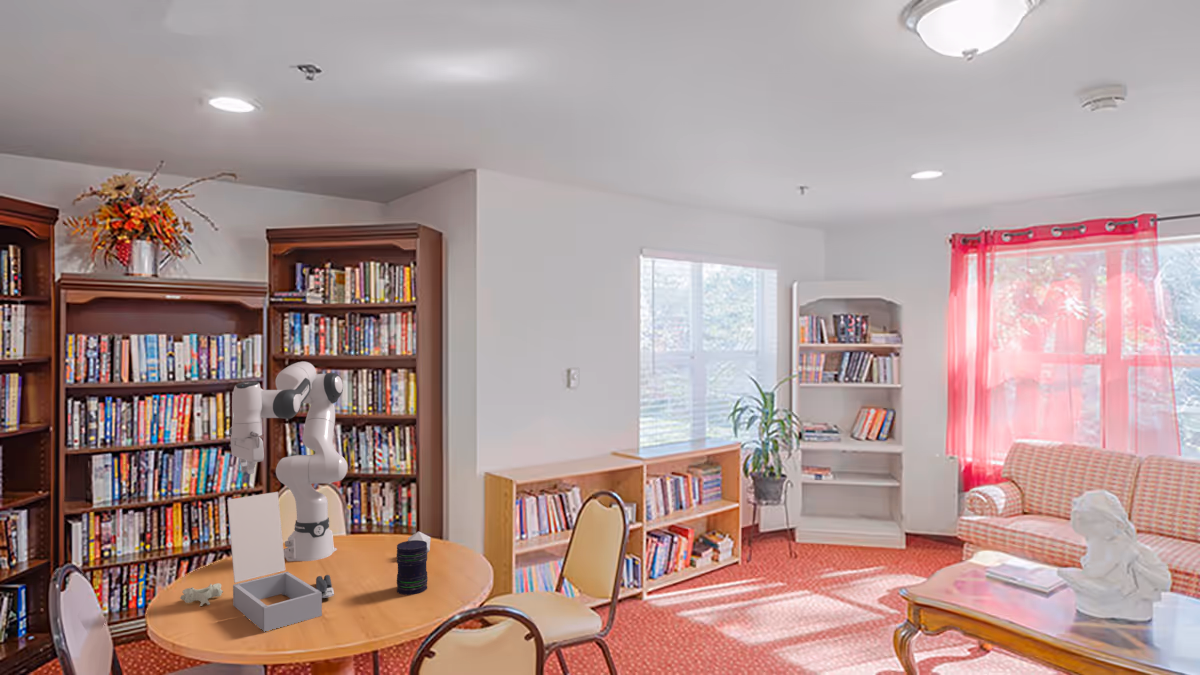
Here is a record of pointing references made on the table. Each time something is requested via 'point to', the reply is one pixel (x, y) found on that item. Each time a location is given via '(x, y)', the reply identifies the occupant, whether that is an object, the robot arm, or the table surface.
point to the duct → (283, 613)
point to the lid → (256, 536)
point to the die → (421, 539)
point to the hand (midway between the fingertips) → (247, 472)
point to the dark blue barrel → (412, 567)
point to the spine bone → (201, 594)
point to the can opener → (324, 586)
